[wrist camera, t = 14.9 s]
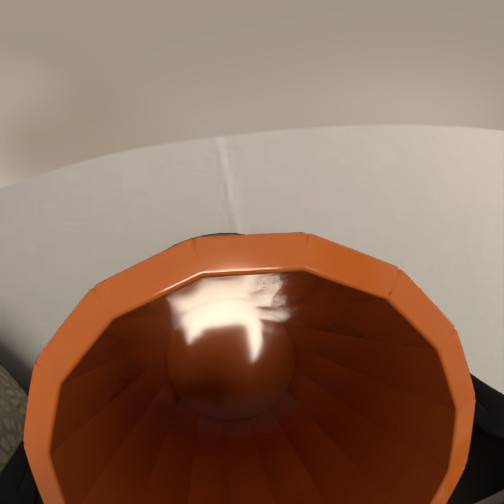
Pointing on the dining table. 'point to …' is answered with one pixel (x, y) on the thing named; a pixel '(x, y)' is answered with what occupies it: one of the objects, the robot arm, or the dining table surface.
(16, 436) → the planter
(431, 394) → the cup
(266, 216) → the dining table surface
